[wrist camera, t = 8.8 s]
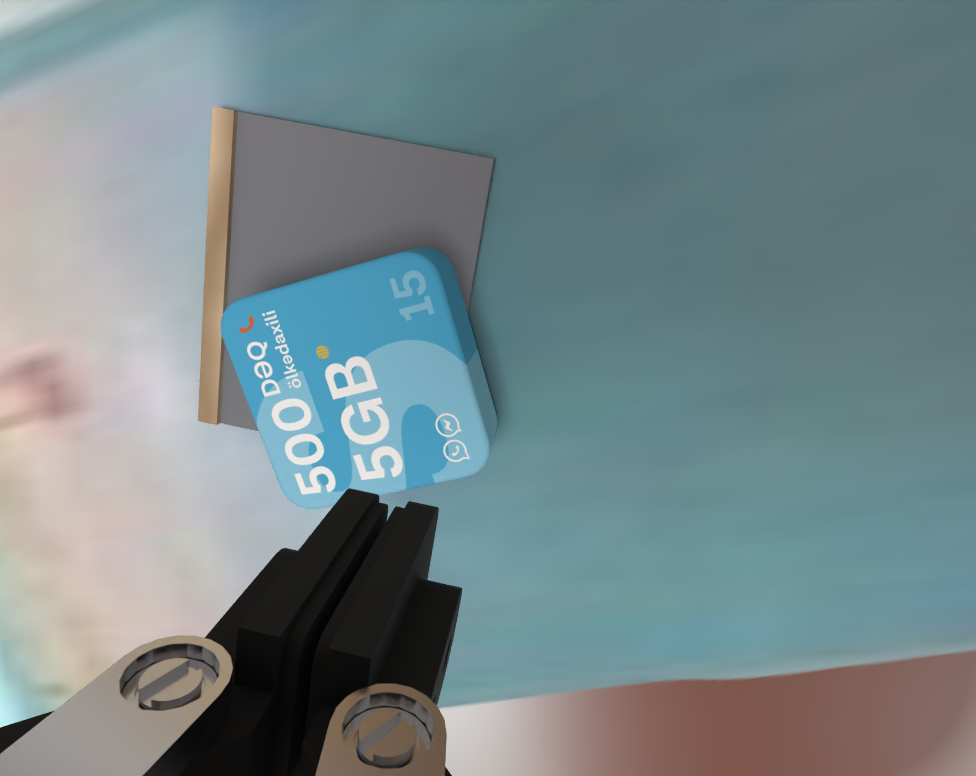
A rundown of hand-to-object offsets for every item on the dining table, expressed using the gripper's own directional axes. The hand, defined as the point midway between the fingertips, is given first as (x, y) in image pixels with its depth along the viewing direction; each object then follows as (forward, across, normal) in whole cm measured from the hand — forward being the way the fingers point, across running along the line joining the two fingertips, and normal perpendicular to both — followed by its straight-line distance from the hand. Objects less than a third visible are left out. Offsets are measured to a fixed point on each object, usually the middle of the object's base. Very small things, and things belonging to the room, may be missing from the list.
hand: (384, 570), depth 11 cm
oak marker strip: (+25, +17, 0) cm, 30 cm away
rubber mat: (+25, +9, 0) cm, 27 cm away
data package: (+22, +1, +1) cm, 22 cm away
